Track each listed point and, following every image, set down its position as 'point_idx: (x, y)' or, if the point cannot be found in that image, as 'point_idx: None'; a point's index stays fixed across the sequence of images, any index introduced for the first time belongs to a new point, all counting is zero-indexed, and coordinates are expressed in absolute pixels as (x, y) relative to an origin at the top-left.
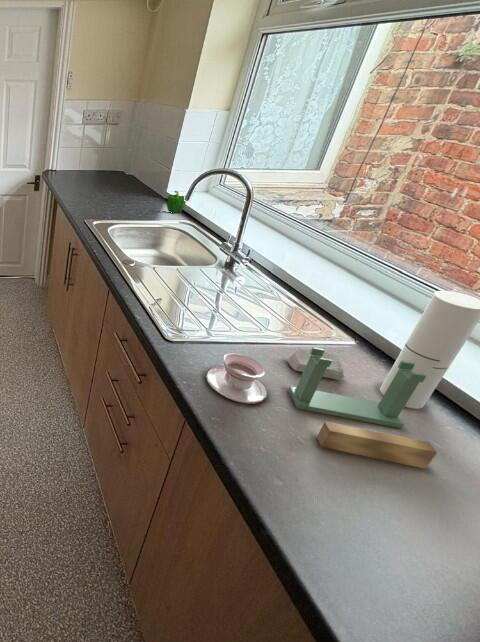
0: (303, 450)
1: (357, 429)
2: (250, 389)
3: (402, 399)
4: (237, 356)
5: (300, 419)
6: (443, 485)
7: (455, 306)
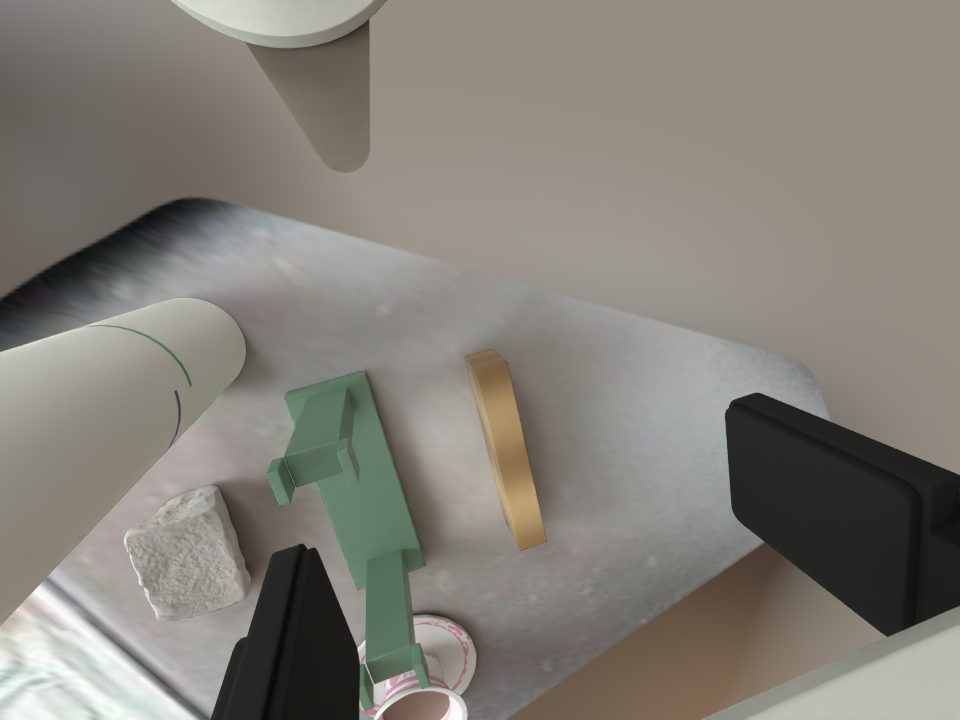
0: (555, 536)
1: (513, 498)
2: None
3: (347, 420)
4: None
5: (460, 548)
6: (525, 327)
7: None
